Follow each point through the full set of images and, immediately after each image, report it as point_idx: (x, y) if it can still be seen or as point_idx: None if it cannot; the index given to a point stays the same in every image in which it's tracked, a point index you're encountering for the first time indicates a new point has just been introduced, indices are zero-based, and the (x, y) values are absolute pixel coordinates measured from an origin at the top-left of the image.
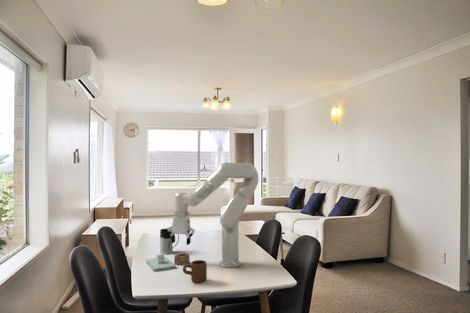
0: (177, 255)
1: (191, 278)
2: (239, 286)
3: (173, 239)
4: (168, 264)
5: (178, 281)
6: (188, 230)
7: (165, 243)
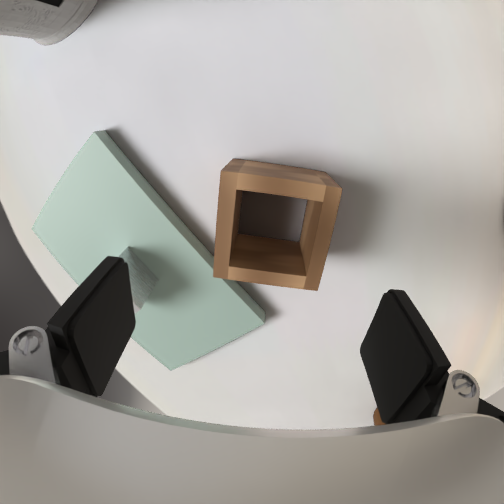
0: (231, 248)
1: (374, 424)
2: (485, 393)
3: (113, 341)
4: (205, 308)
5: (326, 421)
6: (490, 462)
7: (11, 21)
